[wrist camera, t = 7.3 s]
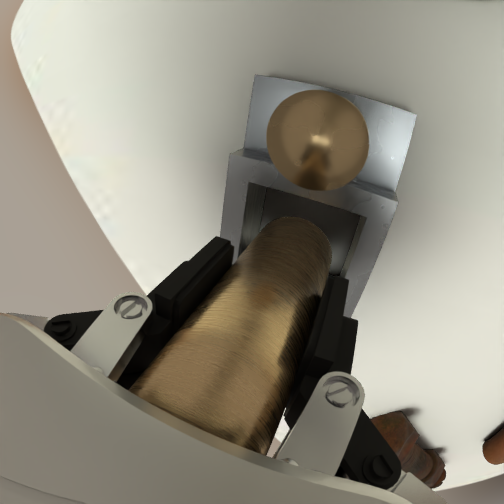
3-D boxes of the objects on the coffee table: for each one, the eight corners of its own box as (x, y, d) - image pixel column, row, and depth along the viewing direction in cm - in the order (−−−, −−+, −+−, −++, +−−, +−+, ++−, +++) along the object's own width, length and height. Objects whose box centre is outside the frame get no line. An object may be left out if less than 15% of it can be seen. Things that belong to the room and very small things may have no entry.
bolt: (430, 453, 24) (376, 403, 22) (463, 460, 20) (421, 412, 17) (405, 493, 22) (340, 458, 20) (437, 505, 17) (382, 477, 15)
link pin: (256, 195, 13) (-12, 453, 2) (353, 225, 12) (229, 613, 1) (242, 276, 15) (71, 503, 5) (324, 304, 14) (213, 580, 4)
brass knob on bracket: (265, 76, 12) (224, 68, 9) (411, 113, 11) (432, 118, 7) (230, 305, 20) (199, 350, 16) (329, 340, 18) (315, 394, 15)
